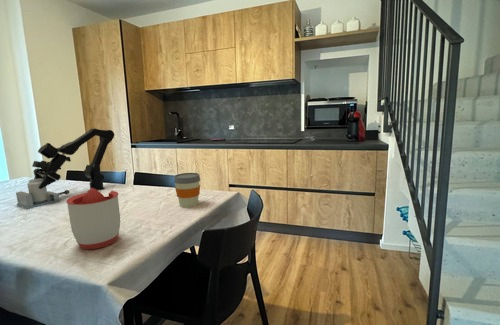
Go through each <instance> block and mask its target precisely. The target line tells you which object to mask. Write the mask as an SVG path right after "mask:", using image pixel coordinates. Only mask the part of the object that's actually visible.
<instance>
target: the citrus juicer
mask: <svg viewBox="0 0 500 325" xmlns="http://www.w3.org/2000/svg"><path fill="white" fill-rule="evenodd" d="M119 202H120V201H119V192H118V191H116V190H115V191H114V190H111V191H109V192H108V195H107V196H104V194H103V193H101V192H100V191H99V190H96V189H94V188H91V189H90V188H89V190H88V191H87V192H84V193H80V194H76V195H74V196H71V197H68V198H67V199H66V201H65V203H67V210H68V216H69V223H70V228H71V232H72V234H73V237H74V239H75V242H76V243H77V245H78V246H79V248H81V249H84V250H96V249H102V248H101V247H103V248H106V247H107V246H109V245H112V244H113V243H115V242H116V241H117V240H118V236H119V234H120V228H121V214H120V203H119ZM105 246H106V247H105Z"/></svg>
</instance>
